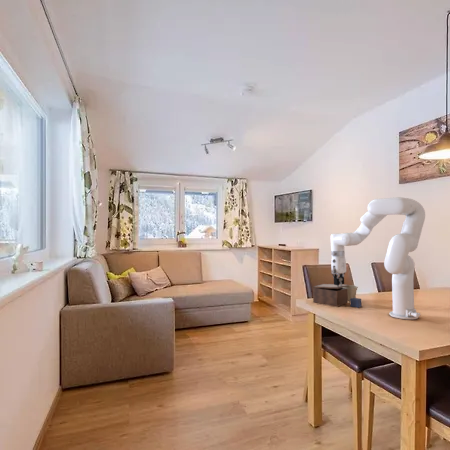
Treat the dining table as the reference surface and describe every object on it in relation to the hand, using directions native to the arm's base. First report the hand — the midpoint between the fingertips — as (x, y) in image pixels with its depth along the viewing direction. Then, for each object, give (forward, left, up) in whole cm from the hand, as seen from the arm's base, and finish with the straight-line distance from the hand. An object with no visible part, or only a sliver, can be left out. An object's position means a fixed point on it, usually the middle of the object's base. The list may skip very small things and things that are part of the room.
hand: (339, 284), depth 181 cm
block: (-8, -5, -12) cm, 15 cm away
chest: (+5, +3, -12) cm, 13 cm away
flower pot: (+7, -13, -12) cm, 20 cm away
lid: (+5, +2, -2) cm, 6 cm away
